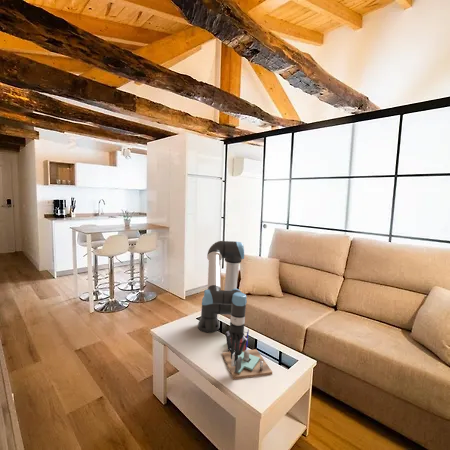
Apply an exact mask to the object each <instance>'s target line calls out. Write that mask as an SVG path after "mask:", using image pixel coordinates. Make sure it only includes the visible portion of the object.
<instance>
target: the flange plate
mask: <svg viewBox="0 0 450 450" xmlns="http://www.w3.org/2000/svg"><path fill="white" fill-rule="evenodd" d="M243 359H244V352H242V353H241V354H240V355H238V359H237V360H236V364H235V372H236V373H239V374H240V373H241V371H242V370H243V369H244V368H246V369H249V370H251V371H252V370H253V369H254V367H255V366H256V364H257V363H258V361H259V360H260V358H259V357H256V356H253V355H251V354H249V360H250V361H249V363H247V362H245V361H242V360H243Z"/></svg>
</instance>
